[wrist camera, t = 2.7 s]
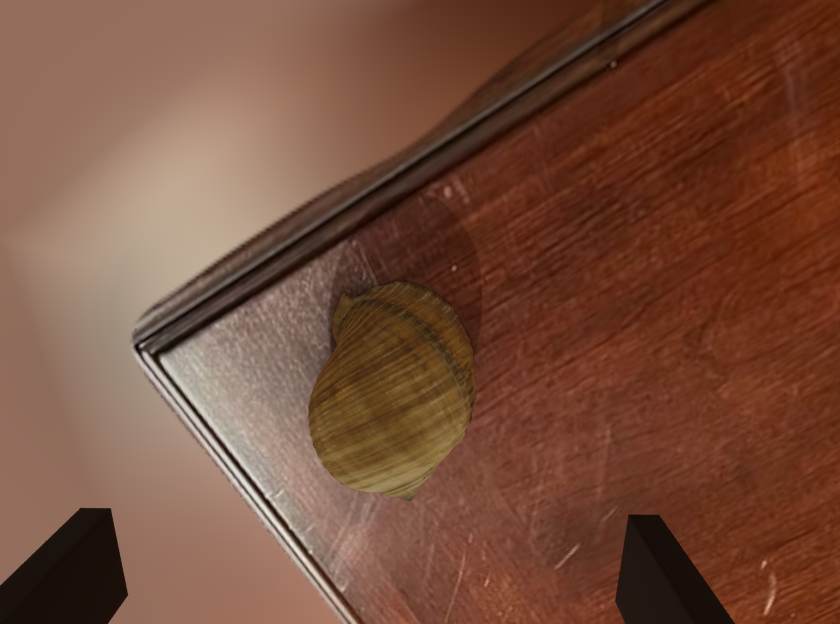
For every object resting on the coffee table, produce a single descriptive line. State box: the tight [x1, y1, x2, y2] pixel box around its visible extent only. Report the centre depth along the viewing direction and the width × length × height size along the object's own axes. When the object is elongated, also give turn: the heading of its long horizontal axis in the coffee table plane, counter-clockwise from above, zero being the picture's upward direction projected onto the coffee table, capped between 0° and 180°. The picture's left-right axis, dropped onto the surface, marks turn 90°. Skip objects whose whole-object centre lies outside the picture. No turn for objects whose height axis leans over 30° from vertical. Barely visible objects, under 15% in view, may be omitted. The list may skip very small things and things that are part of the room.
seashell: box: [308, 281, 477, 501], centre depth 21 cm, size 10×7×8 cm
